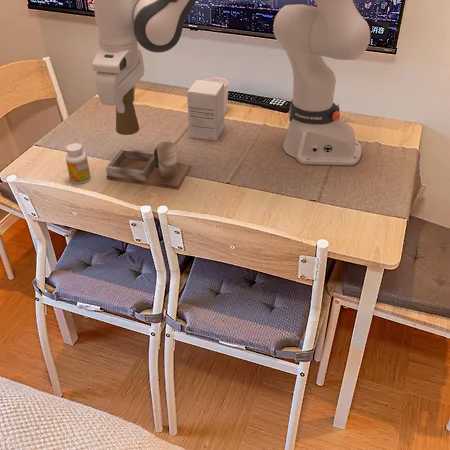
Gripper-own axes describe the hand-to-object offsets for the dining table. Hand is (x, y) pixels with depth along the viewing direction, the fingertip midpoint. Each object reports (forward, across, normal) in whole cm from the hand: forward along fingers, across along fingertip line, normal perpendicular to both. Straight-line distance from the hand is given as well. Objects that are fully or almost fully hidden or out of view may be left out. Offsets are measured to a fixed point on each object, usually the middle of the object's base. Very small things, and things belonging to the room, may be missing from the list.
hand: (126, 106), depth 133 cm
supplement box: (+19, -26, +14) cm, 35 cm away
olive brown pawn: (+6, 0, 0) cm, 7 cm away
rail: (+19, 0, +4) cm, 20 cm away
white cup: (+19, -41, +12) cm, 47 cm away
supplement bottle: (+19, +7, -13) cm, 24 cm away
